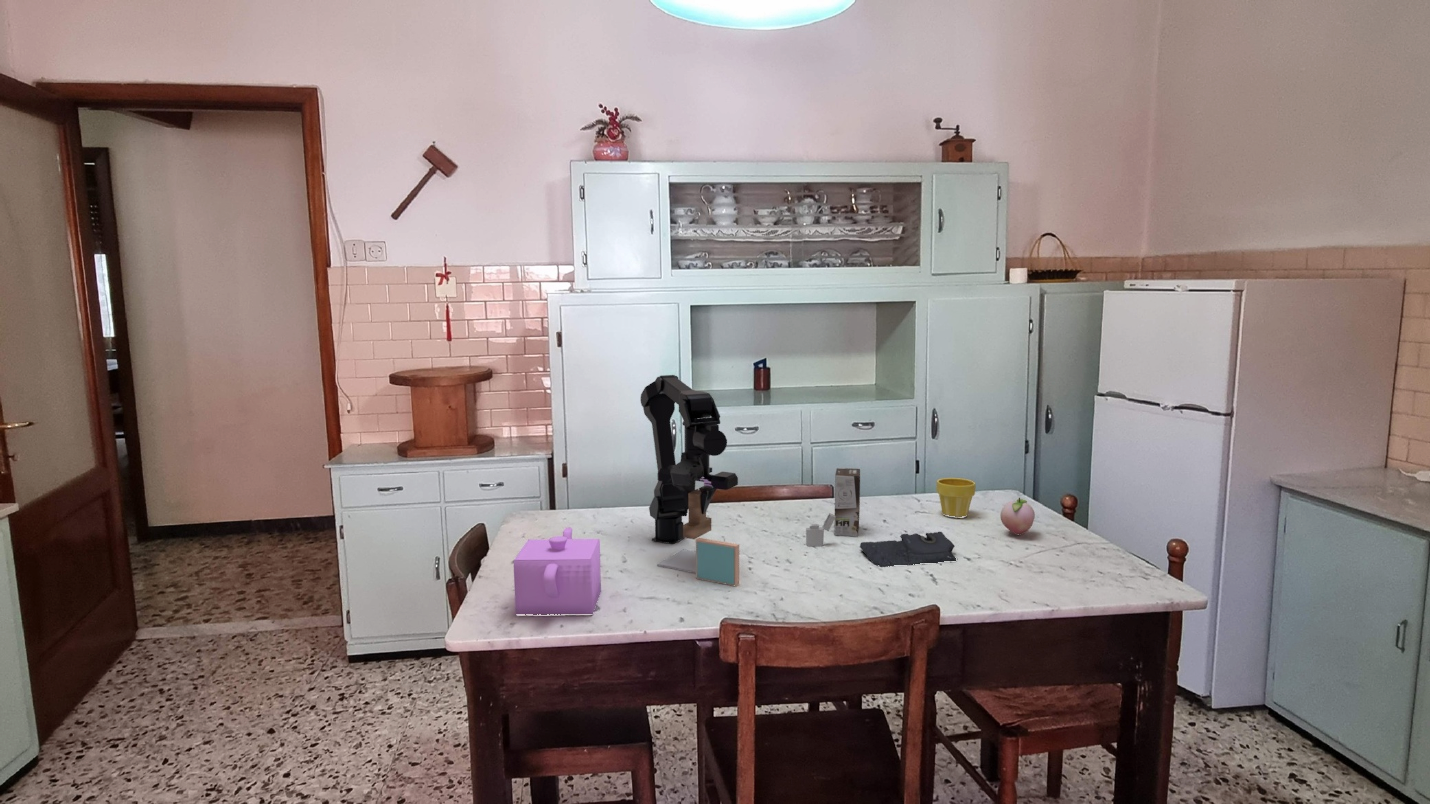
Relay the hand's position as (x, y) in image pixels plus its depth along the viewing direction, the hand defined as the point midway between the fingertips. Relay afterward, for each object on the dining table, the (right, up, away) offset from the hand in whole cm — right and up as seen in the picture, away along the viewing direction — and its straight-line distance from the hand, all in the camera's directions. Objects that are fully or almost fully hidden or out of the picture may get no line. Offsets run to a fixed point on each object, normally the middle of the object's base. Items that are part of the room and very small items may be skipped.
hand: (697, 512), depth 187 cm
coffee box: (+39, -8, +25) cm, 47 cm away
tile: (+5, -14, -11) cm, 18 cm away
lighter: (+31, -10, +14) cm, 35 cm away
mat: (-1, -12, +2) cm, 12 cm away
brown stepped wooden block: (0, -5, +1) cm, 5 cm away
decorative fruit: (+82, -9, +21) cm, 85 cm away
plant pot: (+72, -6, +39) cm, 82 cm away
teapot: (-28, -16, -21) cm, 38 cm away
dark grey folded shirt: (+51, -12, +7) cm, 52 cm away
